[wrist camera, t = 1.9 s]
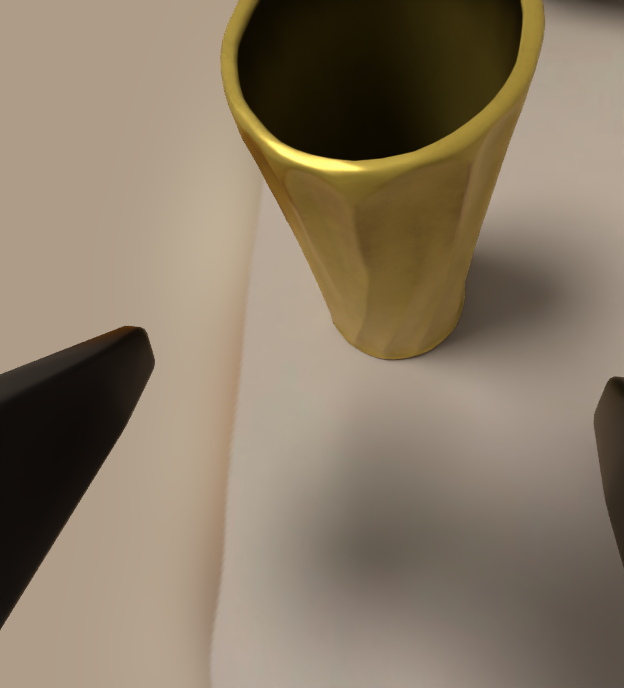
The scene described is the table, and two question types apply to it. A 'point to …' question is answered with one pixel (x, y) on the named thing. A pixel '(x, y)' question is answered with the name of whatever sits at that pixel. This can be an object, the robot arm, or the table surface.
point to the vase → (383, 144)
